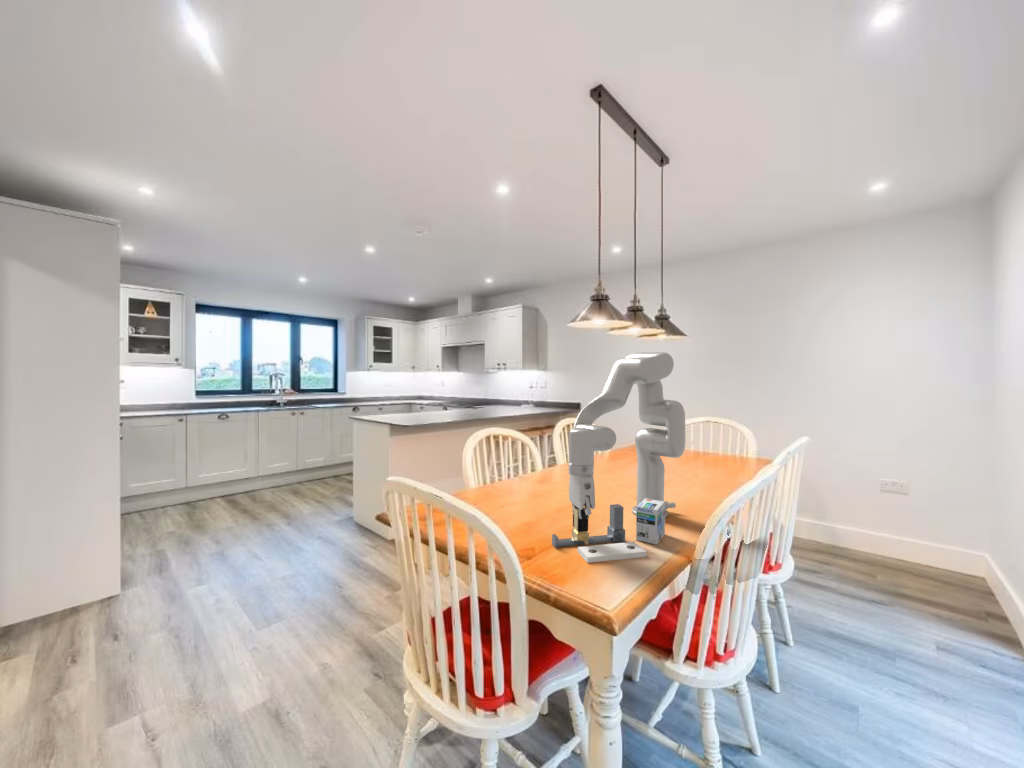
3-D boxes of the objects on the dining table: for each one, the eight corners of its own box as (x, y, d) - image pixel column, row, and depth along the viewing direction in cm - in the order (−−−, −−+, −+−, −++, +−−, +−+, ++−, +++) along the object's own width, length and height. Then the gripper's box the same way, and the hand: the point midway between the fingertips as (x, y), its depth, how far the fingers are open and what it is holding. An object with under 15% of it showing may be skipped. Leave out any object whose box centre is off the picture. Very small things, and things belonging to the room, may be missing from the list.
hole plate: (633, 546, 127) (633, 541, 127) (646, 556, 121) (646, 551, 121) (577, 552, 123) (577, 546, 123) (587, 562, 116) (587, 557, 116)
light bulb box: (657, 545, 129) (658, 510, 128) (635, 540, 132) (635, 506, 132) (665, 533, 138) (666, 501, 137) (644, 529, 141) (644, 497, 141)
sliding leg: (583, 534, 132) (584, 506, 131) (593, 543, 125) (593, 513, 125) (571, 535, 131) (572, 506, 130) (580, 545, 124) (580, 514, 124)
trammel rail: (618, 537, 135) (619, 503, 134) (629, 546, 128) (630, 510, 127) (551, 543, 129) (551, 508, 129) (559, 553, 122) (559, 516, 122)
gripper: (604, 475, 121) (603, 538, 122) (582, 462, 137) (581, 518, 138) (580, 476, 120) (579, 540, 120) (560, 463, 136) (559, 520, 136)
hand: (580, 528), depth 129 cm, fingers closed on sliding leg, 3 cm apart
